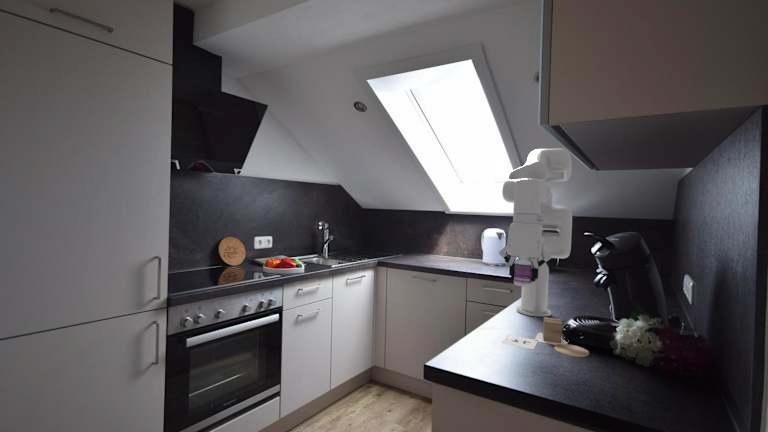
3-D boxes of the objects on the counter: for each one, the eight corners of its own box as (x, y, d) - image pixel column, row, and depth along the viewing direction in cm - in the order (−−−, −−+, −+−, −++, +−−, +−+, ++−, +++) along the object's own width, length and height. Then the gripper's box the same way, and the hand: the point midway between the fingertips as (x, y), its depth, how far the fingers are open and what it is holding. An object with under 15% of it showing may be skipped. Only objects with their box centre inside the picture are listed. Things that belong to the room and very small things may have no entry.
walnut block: (542, 335, 124) (543, 317, 124) (559, 338, 122) (560, 319, 122) (543, 340, 119) (544, 321, 119) (561, 343, 117) (562, 323, 117)
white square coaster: (508, 335, 124) (508, 334, 124) (538, 341, 119) (538, 340, 119) (501, 343, 116) (501, 342, 116) (533, 350, 111) (533, 349, 111)
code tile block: (538, 333, 127) (538, 332, 127) (568, 339, 122) (568, 338, 122) (534, 341, 119) (534, 340, 119) (566, 347, 114) (566, 346, 114)
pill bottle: (535, 287, 114) (536, 254, 114) (517, 286, 115) (518, 254, 114) (528, 283, 120) (530, 252, 119) (511, 282, 120) (512, 251, 120)
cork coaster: (556, 343, 118) (556, 341, 118) (589, 349, 113) (589, 348, 113) (552, 352, 110) (552, 351, 110) (588, 359, 105) (588, 358, 105)
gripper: (558, 221, 115) (555, 281, 116) (500, 218, 124) (497, 274, 125) (555, 221, 109) (552, 285, 110) (494, 218, 117) (491, 277, 118)
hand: (523, 278), depth 117 cm, fingers closed on pill bottle, 5 cm apart
